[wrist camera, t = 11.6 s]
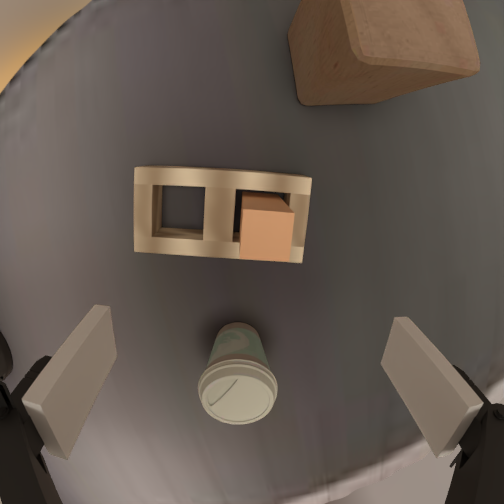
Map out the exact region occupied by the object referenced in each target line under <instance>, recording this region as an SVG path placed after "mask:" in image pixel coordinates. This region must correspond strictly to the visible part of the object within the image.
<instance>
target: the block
mask: <svg viewBox="0 0 504 504" xmlns="http://www.w3.org/2000/svg"><path fill="white" fill-rule="evenodd" d="M287 36H288V41H289V47H290V53H291V58H292V64H293V70H294V76H295V83H296V89H297V96H298V99H299V101H300V102H301V104H303V105H307V106H314V105H336V104H375V103H378V102H381V101H384V100H387V99H390V98H393V97H396V96H400V95H403V94H406V93H410V92H413V91H416V90H420V89H423V88H427V87H431V86H434V85H438V84H442V83H445V82H449V81H453V80H457V79H461V78H465V77H470V76H472V75H475V74H476V73H478V72H479V70H480V60H479V56H478V51H477V47H476V43H475V40H474V36H473V32H472V29H471V25H470V22H469V19H468V15H467V12H466V9H465V6H464V3H463V1H462V0H301V2H300V4H299V7H298V9H297V11H296V14H295V16H294V18H293V21H292V23H291V26H290V28H289V31H288V34H287Z"/></svg>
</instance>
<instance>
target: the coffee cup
mask: <svg viewBox="0 0 504 504" xmlns="http://www.w3.org/2000/svg"><path fill="white" fill-rule="evenodd" d="M198 392H199V397H200V400H201V402H202V404H203V407H204V409H205V410H206V411H207V413H208V414H210V415H211V416H212V417H213V418H215V419H217V420H219V421H222V422H225V423H229V424H248V423H252V422H255V421H257V420H259V419H261V418H263V417H264V416H265V415H267V414H268V413H269V411H270V410H271V408H272V406H273V403H274V401H275V399H276V396H277V382H276V379H275V377H274V375H273V374H272V373H271V371H270V368H269V365H268V362H267V359H266V356H265V352H264V349H263V346H262V343H261V340H260V337H259V334H258V332H257V331H256V330H255V329H254V328H253V327H252V326H250V325H248V324H245V323H241V322H235V323H230V324H227V325H225V326H224V327H223V328H221V329H220V331H219V332H218V334H217V337H216V340H215V343H214V346H213V349H212V352H211V355H210V358H209V361H208V364H207V367H206V370H205V372H204V373H203V374H202V375H201V377H200V379H199V382H198Z"/></svg>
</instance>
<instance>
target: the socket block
mask: <svg viewBox="0 0 504 504" xmlns="http://www.w3.org/2000/svg"><path fill="white" fill-rule="evenodd" d="M311 183H312V178H310V177H307V176H304V175H297V174H287V173H277V172H265V171H253V170H240V169H225V168H207V167H184V166H140V167H135V174H134V252H146V253H160V254H174V255H188V256H203V257H218V258H233V259H240V232H233V225H234V211H235V197H236V189H246V190H259V191H272V192H283V193H284V202H285V203H286V204H287V205H288V206H289V207H290V208H291V210H292V211H293V212H294V213H295V216H294V225H293V233H292V242H291V251H290V259H289V262H295V263H302V258H303V251H304V243H305V235H306V227H307V219H308V210H309V201H310V192H311ZM163 185H176V186H198V187H206V190H205V208H204V229H203V230H197V229H181V228H164V227H162V188H163ZM248 260H251V259H248ZM263 261H266V260H263ZM279 262H282V261H279Z"/></svg>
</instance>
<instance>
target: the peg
mask: <svg viewBox="0 0 504 504" xmlns="http://www.w3.org/2000/svg"><path fill="white" fill-rule="evenodd" d="M294 216H295V213H294V212H293V211H292V210H291V208H290V207H289V206H288V205H287V204H286V203H285V202H284V201H283V200H282V199H281V198H280V197H279V196H278V194H268V193H255V192H242V202H241V215H240V259H251V260H266V261H282V262H289V259H290V251H291V242H292V233H293V225H294Z"/></svg>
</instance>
